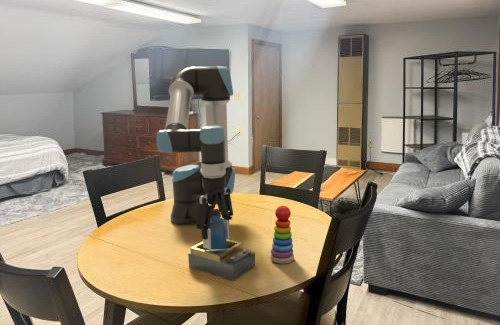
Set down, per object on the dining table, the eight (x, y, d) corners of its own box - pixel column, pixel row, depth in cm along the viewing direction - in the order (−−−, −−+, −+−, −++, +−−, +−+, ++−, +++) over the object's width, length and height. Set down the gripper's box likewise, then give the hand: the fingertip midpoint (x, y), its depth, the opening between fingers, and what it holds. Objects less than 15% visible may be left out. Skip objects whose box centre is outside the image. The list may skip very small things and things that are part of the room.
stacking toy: (293, 265, 137) (293, 210, 133) (269, 264, 138) (268, 209, 135) (295, 255, 145) (295, 203, 141) (271, 254, 146) (271, 202, 142)
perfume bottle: (207, 242, 140) (205, 207, 137) (225, 241, 140) (224, 207, 138) (206, 250, 134) (205, 214, 131) (226, 249, 134) (225, 213, 132)
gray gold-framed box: (188, 267, 137) (187, 247, 136) (212, 254, 147) (211, 235, 145) (233, 281, 127) (232, 259, 126) (255, 266, 137) (254, 246, 136)
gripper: (200, 184, 121) (203, 257, 126) (243, 170, 139) (244, 234, 143) (181, 181, 125) (185, 252, 130) (225, 167, 143) (227, 230, 147)
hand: (216, 242), depth 137 cm, fingers closed on perfume bottle, 9 cm apart
